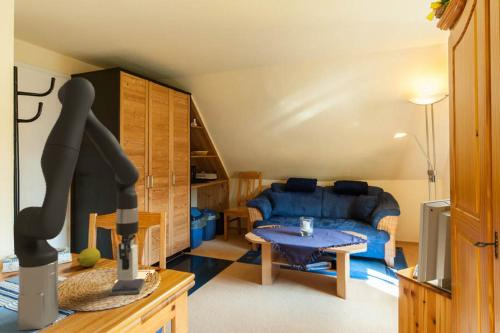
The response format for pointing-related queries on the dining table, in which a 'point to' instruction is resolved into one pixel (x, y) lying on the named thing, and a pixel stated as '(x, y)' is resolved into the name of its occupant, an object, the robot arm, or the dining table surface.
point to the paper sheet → (142, 274)
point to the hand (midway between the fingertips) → (127, 266)
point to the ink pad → (127, 287)
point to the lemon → (88, 257)
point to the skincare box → (133, 265)
